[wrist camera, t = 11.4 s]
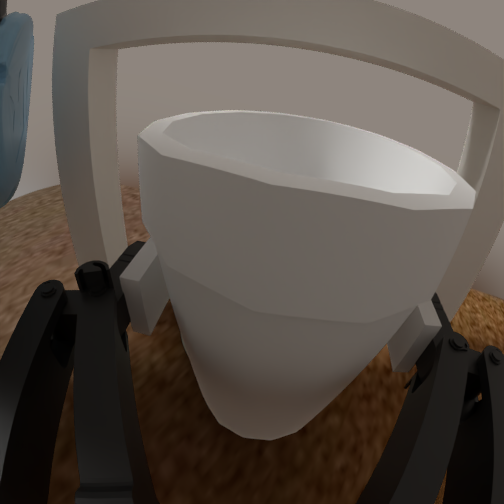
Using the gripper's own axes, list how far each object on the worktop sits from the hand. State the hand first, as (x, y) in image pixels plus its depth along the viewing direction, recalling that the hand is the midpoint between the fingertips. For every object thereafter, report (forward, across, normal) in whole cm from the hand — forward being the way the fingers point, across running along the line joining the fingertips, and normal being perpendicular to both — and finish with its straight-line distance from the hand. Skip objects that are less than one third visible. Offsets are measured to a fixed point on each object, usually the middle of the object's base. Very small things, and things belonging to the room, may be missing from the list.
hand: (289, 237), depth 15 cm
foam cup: (-5, 0, -7) cm, 9 cm away
